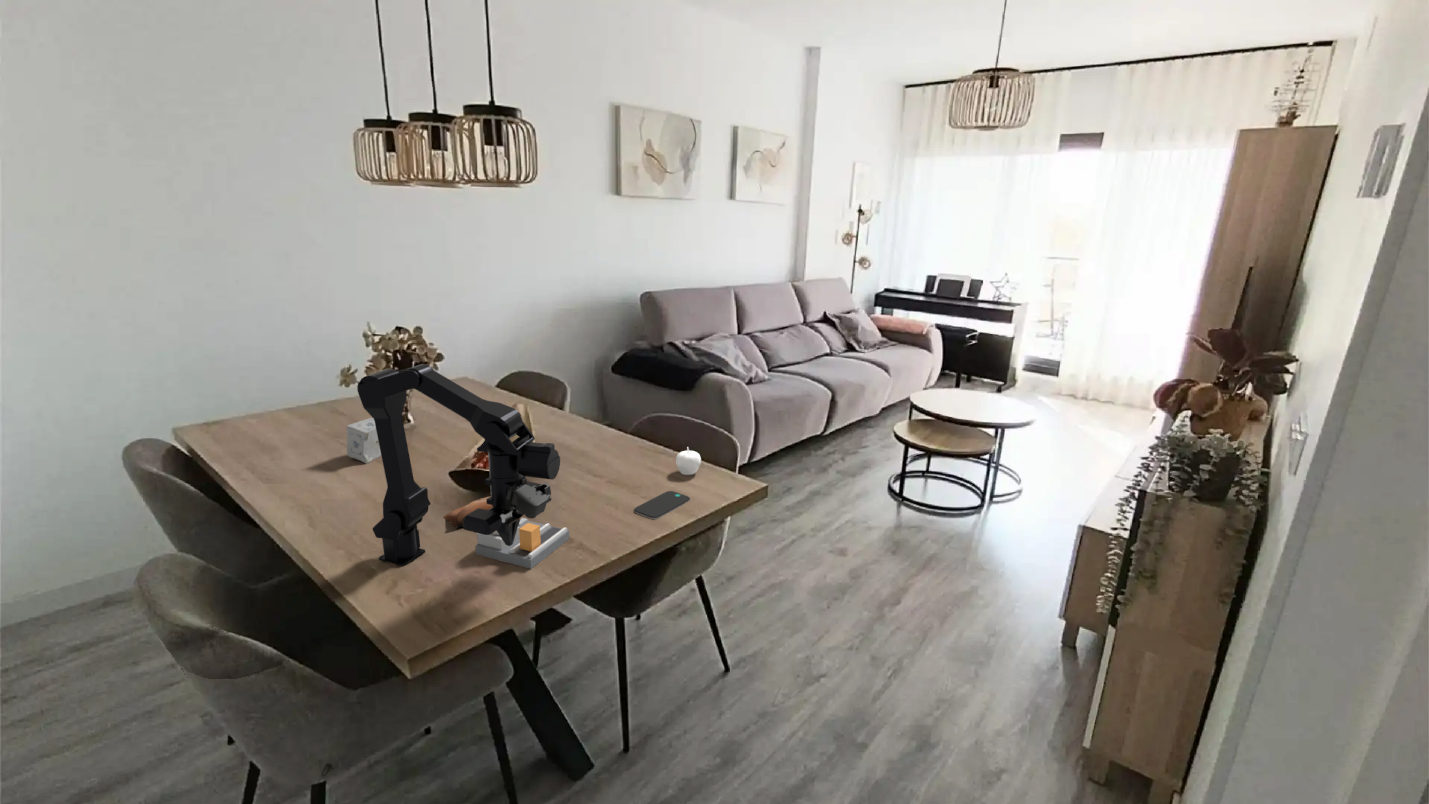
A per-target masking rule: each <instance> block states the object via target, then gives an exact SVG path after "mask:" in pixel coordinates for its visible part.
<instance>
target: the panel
mask: <svg viewBox="0 0 1429 804" xmlns="http://www.w3.org/2000/svg"><path fill="white" fill-rule="evenodd" d="M527 523H531V524H535V525H539V526H540V539H541V545H540V546H539V547H538V548H536V549H535V550H534V551H532V552H531V551H527V550H523V549H520V537H519V529H520V528H521V527H523V526H524V525H525V524H527ZM476 536H477V537H476V538H477V544H475V555H478V556H482V557H485V558H489V559H493V560H496V559H497V560H496V561H500V562H504V563H507V562H508V564H512V565H515V566H518V567H522V566H523V568H527V569H530V570H531V568H532V569H533V568H534V567H536V566H537V565H538V564H540V562H542V561H543V560H545V559H546V558H547V557H548V556H549V555H551V554H552V553H554V551H556V550H557V549H558V548H560V547H561V546H562V545H563V544H564V543H566V542H567V541H569V540H570V537H571V536H570V530H569V529H568V527H566V526H565V527H563V528H560V527H555V526H552V525H551V524H550V523H549V522H548V523H546V524H543V523H539V522H535V521H531V520H529V518H527V517H526V518H525V517H522V518H521V519H520V522H519V525H518V528H517V531H516V535H515V538H514V541H513V544H512V545H511V546H507V545H506V544H505V543H504V541H503V540H502V538H501V537H500V535H492V534H490V535H483V534H479V533H476ZM535 565H536V566H535Z"/></svg>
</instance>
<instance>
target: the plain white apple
mask: <svg viewBox="0 0 1429 804" xmlns="http://www.w3.org/2000/svg"><path fill="white" fill-rule="evenodd" d="M701 463H702V458H701V455H700V453H698V452H697V451H694V450H690V448H689V446H687V447H686V450H684V451H683V450H682V451H680V452H679V453H678V454H677V456H676V457H675V464H676V466H677V468H678V470H679V473H680V474H682V475H684V476H691V475H694V474H696V473H697V471H698V469H699V468H700V466H701Z"/></svg>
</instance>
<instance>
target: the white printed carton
mask: <svg viewBox="0 0 1429 804" xmlns="http://www.w3.org/2000/svg"><path fill="white" fill-rule="evenodd" d="M346 454H347V457H349V458H352V459H355V460H358V461H361V462H362V463H365V464H369V463H371V462H372V461H373V460H376V459H378V458H380V457H382V456H381V451H380V446H379V441H378V436H377V431H376V426H375V421H374V419H373V417H372V416H371V417H369V418H365V419H364V420H363V419H362V420H360V421H356V422H354V423H351V424H348V425H346Z"/></svg>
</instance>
